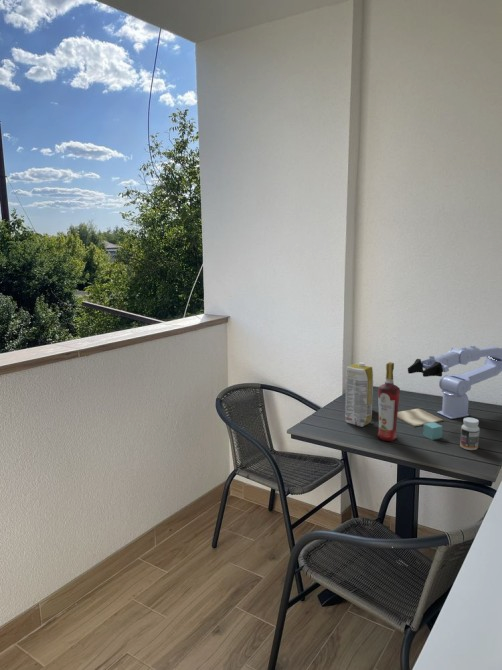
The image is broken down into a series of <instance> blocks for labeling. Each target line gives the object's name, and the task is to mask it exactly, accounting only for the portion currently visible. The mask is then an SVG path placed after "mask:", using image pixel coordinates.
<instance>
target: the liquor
mask: <svg viewBox="0 0 502 670" xmlns="http://www.w3.org/2000/svg"><path fill="white" fill-rule="evenodd" d="M394 366H395V363H394V362H391V361H387V362H386V363H385V380H384V383H383V384H380V385H379V386H378V390H377V391H378V392H377V393H378V394H377V395H378V399H377V401H378V402H377V403H378V432H377V434H376V436H378V438H380V440H382V441H385V442H392V441H394V440H395V439H397V438H398V435H397V425H398V418H397V413H398V412H399V403H400V392H401V391H400V389H401V388H400V387H399V386H398V385H396V384H395V383H394V369H395V367H394Z"/></svg>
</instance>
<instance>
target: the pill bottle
mask: <svg viewBox="0 0 502 670" xmlns="http://www.w3.org/2000/svg"><path fill="white" fill-rule="evenodd" d="M462 421H463V424H462V425H461V426H460V428H461V429H460V438H459V439H460V441H459V446H460V447H461V448H462V449H465V450H468V451H475V450H478V448H479V441H480V440H479V439H480V430H481V429H480V427H479V423H480V421H479V419H478V418H474V417H468V416H467V417H463V420H462Z"/></svg>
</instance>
